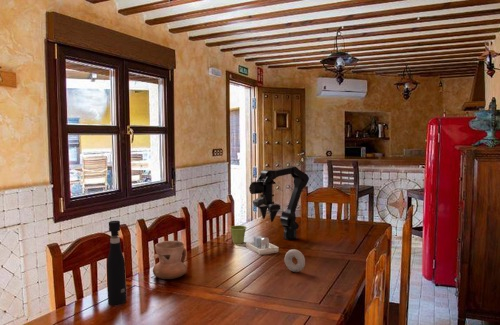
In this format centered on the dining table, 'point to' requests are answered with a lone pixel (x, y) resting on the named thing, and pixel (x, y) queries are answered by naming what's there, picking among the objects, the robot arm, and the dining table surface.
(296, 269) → the donut
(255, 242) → the painted block
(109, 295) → the black water bottle
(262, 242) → the metal cylinder
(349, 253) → the dining table surface
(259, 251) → the parts tray
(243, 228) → the plant pot
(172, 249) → the ceramic jug
